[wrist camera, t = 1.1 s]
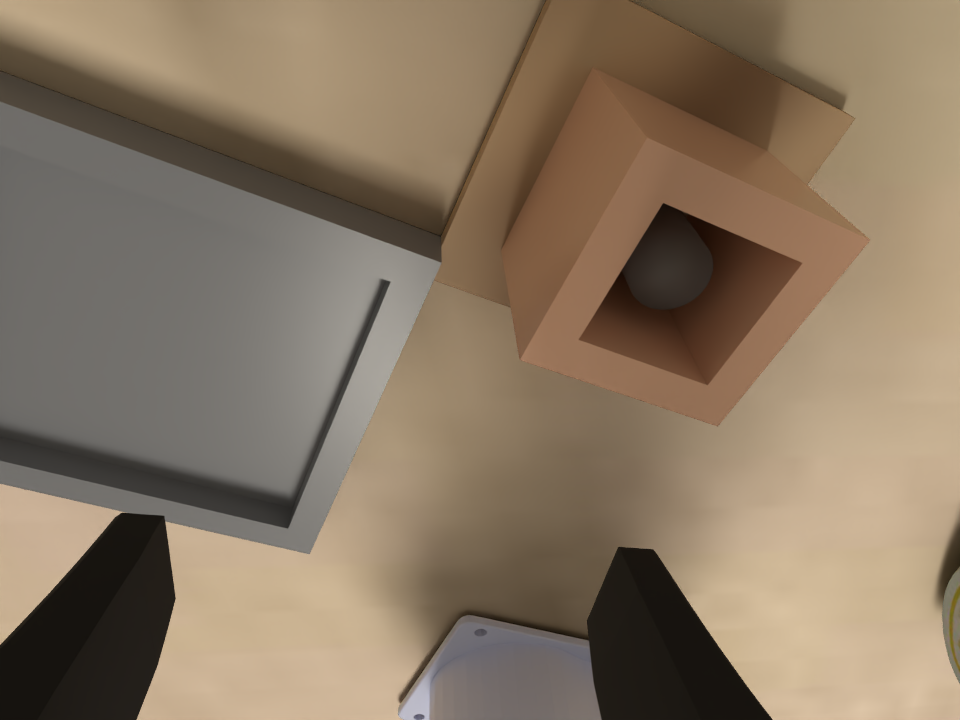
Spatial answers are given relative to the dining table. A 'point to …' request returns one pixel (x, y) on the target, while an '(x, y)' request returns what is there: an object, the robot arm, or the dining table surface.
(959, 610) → the air freshener
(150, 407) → the tray
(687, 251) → the stand
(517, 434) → the dining table surface
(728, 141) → the brown cube box
